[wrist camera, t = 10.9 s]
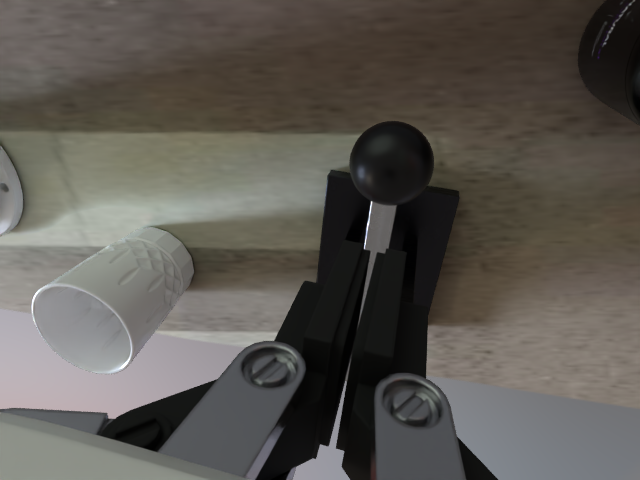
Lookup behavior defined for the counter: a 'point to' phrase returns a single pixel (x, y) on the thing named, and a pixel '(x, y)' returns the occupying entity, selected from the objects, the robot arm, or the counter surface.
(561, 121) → the counter surface
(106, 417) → the robot arm
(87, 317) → the white cup
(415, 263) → the black lever stand
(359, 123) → the counter surface
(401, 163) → the tap lever
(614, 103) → the supplement bottle
